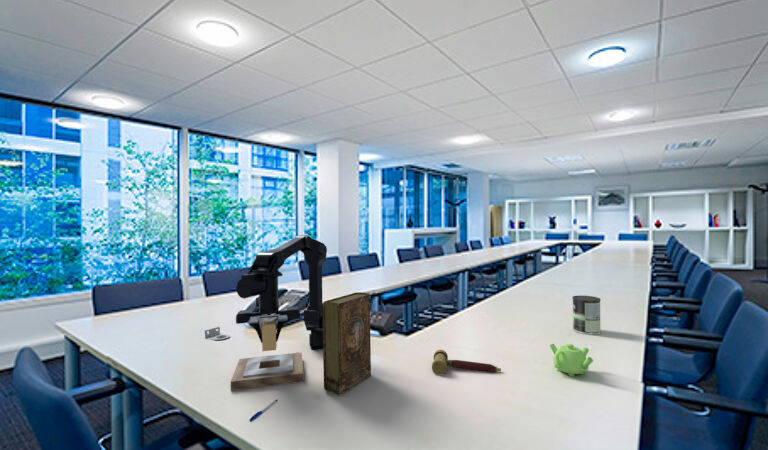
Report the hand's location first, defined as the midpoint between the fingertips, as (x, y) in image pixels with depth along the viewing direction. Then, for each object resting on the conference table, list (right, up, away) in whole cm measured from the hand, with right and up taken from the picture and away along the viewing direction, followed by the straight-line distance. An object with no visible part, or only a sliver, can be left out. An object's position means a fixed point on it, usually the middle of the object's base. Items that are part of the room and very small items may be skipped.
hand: (269, 342), depth 111 cm
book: (+26, -10, -8) cm, 29 cm away
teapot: (+94, -9, -2) cm, 94 cm away
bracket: (-34, -11, +38) cm, 52 cm away
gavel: (+62, -10, 0) cm, 63 cm away
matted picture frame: (0, -10, 0) cm, 10 cm away
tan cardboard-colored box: (0, -2, 0) cm, 2 cm away
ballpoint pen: (+6, -10, -22) cm, 25 cm away
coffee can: (+121, -8, +38) cm, 127 cm away
